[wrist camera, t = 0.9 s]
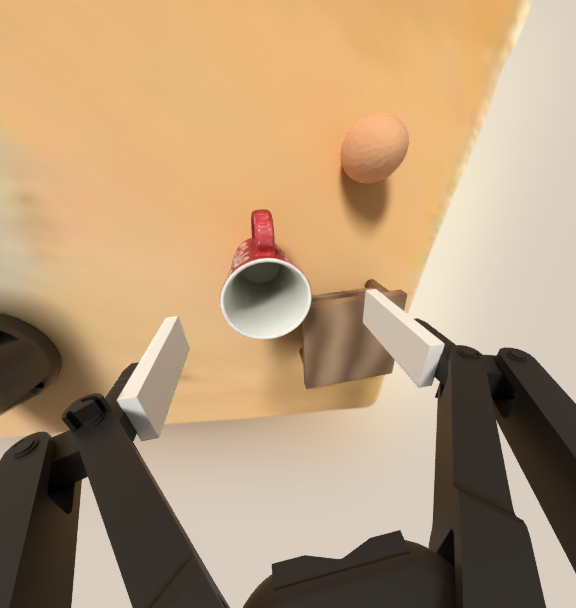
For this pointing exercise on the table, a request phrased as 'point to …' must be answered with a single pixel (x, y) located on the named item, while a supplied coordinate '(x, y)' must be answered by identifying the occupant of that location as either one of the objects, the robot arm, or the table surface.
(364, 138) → the egg
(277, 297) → the mug
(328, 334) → the stool
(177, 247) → the table surface
